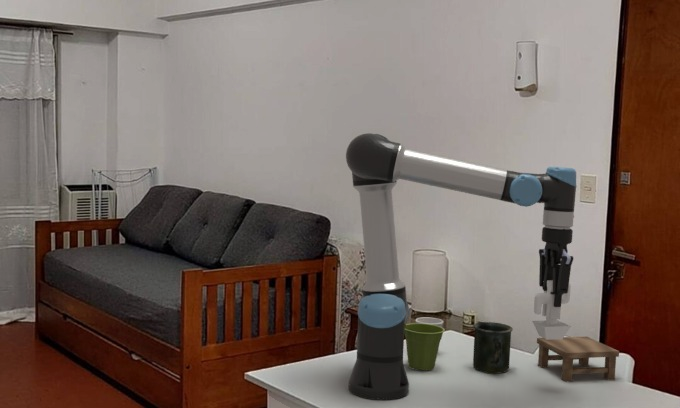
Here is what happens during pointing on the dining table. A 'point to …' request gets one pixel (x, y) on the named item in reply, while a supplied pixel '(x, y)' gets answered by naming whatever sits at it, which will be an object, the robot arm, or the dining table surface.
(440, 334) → the plant pot
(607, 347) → the walnut stool
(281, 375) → the dining table surface
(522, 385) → the dining table surface
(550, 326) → the figurine
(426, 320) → the dixie cup
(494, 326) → the mug
